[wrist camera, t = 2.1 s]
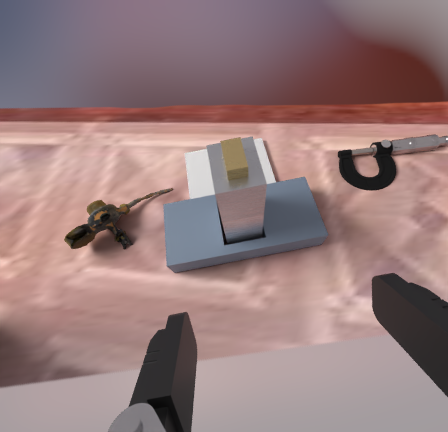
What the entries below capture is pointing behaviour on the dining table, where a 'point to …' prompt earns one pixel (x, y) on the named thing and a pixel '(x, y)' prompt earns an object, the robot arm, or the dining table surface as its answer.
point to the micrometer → (385, 159)
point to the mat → (201, 171)
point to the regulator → (103, 222)
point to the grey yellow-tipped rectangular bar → (238, 188)
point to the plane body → (270, 243)
